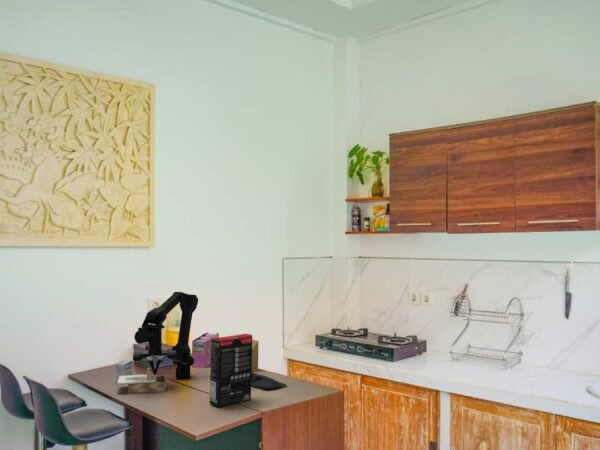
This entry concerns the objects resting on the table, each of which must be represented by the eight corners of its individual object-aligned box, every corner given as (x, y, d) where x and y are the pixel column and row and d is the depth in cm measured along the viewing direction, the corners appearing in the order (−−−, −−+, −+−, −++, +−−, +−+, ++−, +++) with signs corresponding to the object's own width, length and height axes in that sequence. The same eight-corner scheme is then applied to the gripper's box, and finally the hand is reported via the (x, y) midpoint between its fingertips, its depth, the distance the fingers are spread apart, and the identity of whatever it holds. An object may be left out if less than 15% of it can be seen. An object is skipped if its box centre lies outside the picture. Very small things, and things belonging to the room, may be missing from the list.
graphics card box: (242, 396, 249) (243, 332, 249) (253, 400, 244) (253, 334, 244) (209, 404, 237) (209, 337, 237) (219, 408, 232) (219, 340, 232)
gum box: (206, 356, 322) (206, 332, 322) (220, 357, 320) (220, 332, 320) (191, 367, 298) (191, 340, 298) (206, 368, 297) (206, 341, 297)
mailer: (166, 384, 267) (166, 375, 267) (166, 391, 255) (166, 382, 255) (129, 386, 263) (129, 377, 263) (128, 393, 252) (128, 384, 251)
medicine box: (124, 383, 268) (124, 364, 268) (115, 382, 269) (115, 364, 269) (132, 378, 276) (132, 360, 276) (124, 378, 277) (124, 360, 277)
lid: (156, 375, 266) (156, 366, 266) (155, 382, 254) (155, 372, 254) (119, 377, 262) (119, 368, 262) (117, 384, 250) (117, 374, 250)
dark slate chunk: (263, 394, 254) (263, 383, 254) (235, 383, 271) (235, 372, 271) (290, 387, 264) (290, 377, 264) (261, 377, 281) (261, 367, 281)
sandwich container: (224, 373, 286) (224, 343, 286) (245, 367, 298) (245, 338, 298) (237, 376, 281) (237, 345, 281) (258, 370, 293) (258, 340, 293)
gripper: (176, 335, 270) (176, 369, 270) (134, 337, 265) (133, 371, 265) (176, 340, 259) (176, 375, 259) (132, 342, 255) (132, 377, 255)
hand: (155, 374), depth 260 cm, fingers closed
